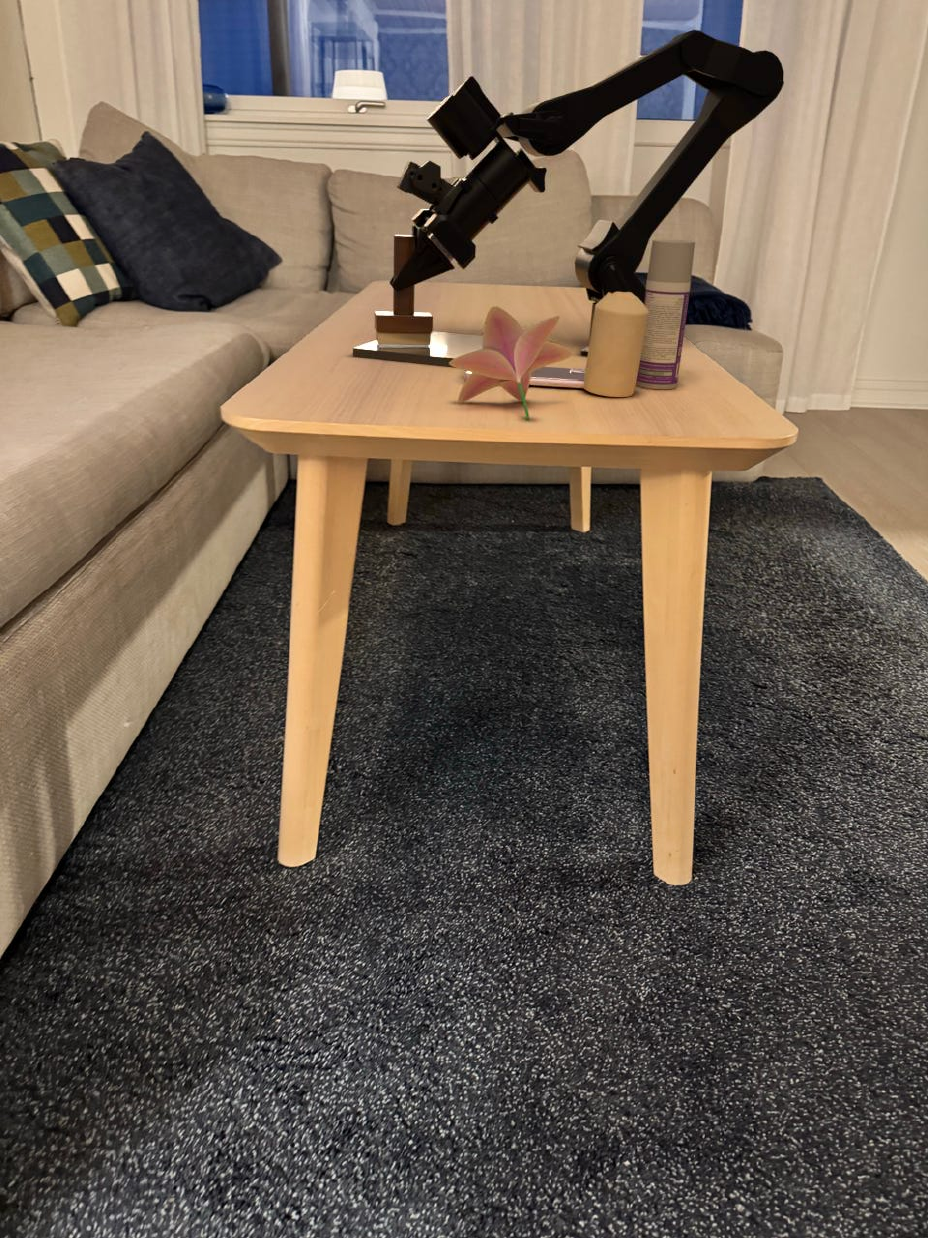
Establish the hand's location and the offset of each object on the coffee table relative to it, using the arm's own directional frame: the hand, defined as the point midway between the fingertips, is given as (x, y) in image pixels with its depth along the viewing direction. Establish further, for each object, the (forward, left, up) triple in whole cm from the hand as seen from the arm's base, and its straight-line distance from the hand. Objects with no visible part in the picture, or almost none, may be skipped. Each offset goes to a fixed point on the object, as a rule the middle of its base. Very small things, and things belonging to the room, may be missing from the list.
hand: (392, 287), depth 111 cm
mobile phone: (+8, +21, -8) cm, 24 cm away
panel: (-4, +4, -8) cm, 10 cm away
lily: (+23, +23, -8) cm, 33 cm away
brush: (-1, +1, -7) cm, 7 cm away
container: (+3, +34, -8) cm, 35 cm away
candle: (+10, +30, -8) cm, 32 cm away
